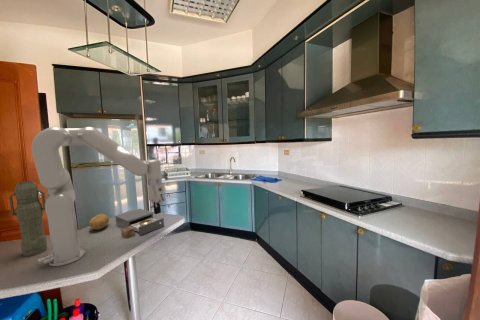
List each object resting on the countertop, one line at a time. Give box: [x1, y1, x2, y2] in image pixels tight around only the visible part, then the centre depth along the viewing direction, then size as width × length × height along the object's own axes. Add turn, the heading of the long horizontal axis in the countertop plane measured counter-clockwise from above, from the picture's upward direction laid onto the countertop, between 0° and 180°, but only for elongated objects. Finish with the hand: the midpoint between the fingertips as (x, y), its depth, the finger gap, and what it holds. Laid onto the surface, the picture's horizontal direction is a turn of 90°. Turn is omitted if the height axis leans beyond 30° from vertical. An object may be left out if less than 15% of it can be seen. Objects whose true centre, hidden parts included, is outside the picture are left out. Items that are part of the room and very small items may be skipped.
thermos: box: [8, 180, 48, 257], centre depth 100 cm, size 9×12×35 cm
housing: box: [115, 208, 154, 229], centre depth 132 cm, size 16×16×6 cm
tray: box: [130, 217, 165, 236], centre depth 125 cm, size 15×16×5 cm
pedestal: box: [120, 226, 136, 239], centre depth 115 cm, size 5×5×4 cm
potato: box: [88, 213, 110, 231], centre depth 126 cm, size 10×14×8 cm
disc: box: [140, 220, 152, 226], centre depth 124 cm, size 7×7×2 cm
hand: (157, 213), depth 116 cm, fingers closed
